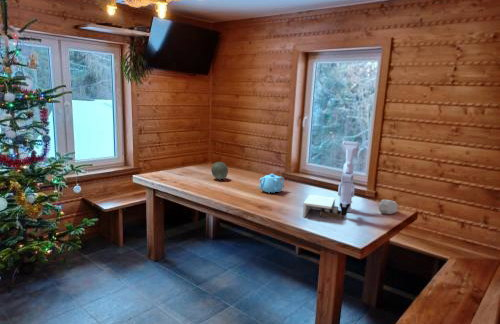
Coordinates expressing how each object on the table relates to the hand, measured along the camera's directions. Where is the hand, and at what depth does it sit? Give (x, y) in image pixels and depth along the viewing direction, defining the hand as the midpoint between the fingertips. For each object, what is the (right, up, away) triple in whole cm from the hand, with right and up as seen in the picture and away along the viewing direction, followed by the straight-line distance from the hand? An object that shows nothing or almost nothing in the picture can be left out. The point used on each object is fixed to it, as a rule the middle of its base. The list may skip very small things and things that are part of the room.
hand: (343, 215), depth 207 cm
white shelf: (-14, 0, +5) cm, 15 cm away
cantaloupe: (-82, +17, +84) cm, 118 cm away
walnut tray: (-7, -1, +3) cm, 8 cm away
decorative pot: (-40, +9, +53) cm, 67 cm away
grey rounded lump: (+31, -1, +13) cm, 34 cm away
